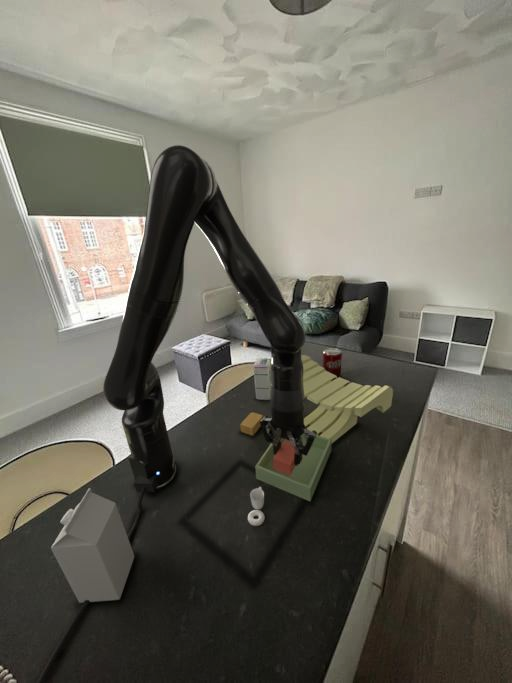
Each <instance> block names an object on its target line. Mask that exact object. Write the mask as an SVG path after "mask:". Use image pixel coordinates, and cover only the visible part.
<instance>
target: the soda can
mask: <svg viewBox="0 0 512 683" xmlns="http://www.w3.org/2000/svg"><path fill="white" fill-rule="evenodd" d="M342 357H343V352H342V350H341V349H339V348H335V347H328V348H325V349H324V350H323V352H322V367H323V368H325V371H327V372H329V373H332V374H334V375H336V376H337V378H338V377H340V378H342V359H343V358H342Z"/></svg>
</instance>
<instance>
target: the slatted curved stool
mask: <svg viewBox="0 0 512 683" xmlns="http://www.w3.org/2000/svg"><path fill="white" fill-rule="evenodd" d="M301 358H302V362H303V386H304V398H305V399H307V400H308V401H310V402H312V403H313V404H315V405H318V406H317V407H316V408H315V409H314V410H313V411H311V413H309V414H307V415H306V416H304V425H305V427H306V429H307V430H309V431H311V432H312V431H313V430H314V431H316V432H317V435H318V436H321V437H325V438H328V439H331V440H332V442H331V445H332V444H333V443H335V442H336V441H337V440H338V439H340V438H341V437H342V436H343V435H344V434H346V433H347V432H348V431H349V430H351V429H352V428H353V427H354V426H355V425H357V423H358V417H360V418H362V417H363V416H365V415H366V414H368V413H369V412H371V411H372V410H374V409H375V408H376V409H377V410H379V411H380V412H381V413H385V412H386V411H388V410H389V409H390V408H391V407H392V403H393V396H394V389H393V387H392V386H390V385H384V386H380V385H377V384H376V385H374V386H372V385H369V384H365V385H363V384H360V383H356V382H353V381H351V382H350V381H349V380H347V379H345V378H342V377H341V378H340V377H338V378H337V376H336V375H334V374H332V373H329V372H327V371H325V368H323V366H321V365H319V363H318V362H316V361H314V360H313V358H312V357H311V356H309V355H306V354H301Z"/></svg>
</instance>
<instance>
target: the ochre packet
mask: <svg viewBox="0 0 512 683" xmlns="http://www.w3.org/2000/svg"><path fill="white" fill-rule="evenodd" d="M263 418H264V414H259V413H257V412H253V411H251V412H250V413H249V414H248V415H247V416H246V417H245V419H244V420H243V421H242V422H241V423H240V425H239V429H240V432H241V433H243V434H246V435H249V436H254V435H255V434H256V433H257V432H258V431H259V429H260V428H261V425H260V421H261V420H262V419H263Z"/></svg>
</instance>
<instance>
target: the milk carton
mask: <svg viewBox="0 0 512 683" xmlns="http://www.w3.org/2000/svg"><path fill="white" fill-rule="evenodd" d="M59 523H60V524H61V525H63V527H62V529H61V530H60V532H59V534H58V536H57V537H56V538H55V540H54V542H53V543H52V545H51V547H50V550H51V551H52V554H53V555H54V557H55V560H56V561H57V563H58V565H59V567H60V569H61V571H62V573H63V575H64V577H65V578H66V581H67V582H68V584H69V586H70V588H71V590H72V592H73V594H74V596H75V598H76V600H77V601H78V603H79V604H83V603H84V601H85V600H89V601H90V602H89V603H95V602H96V603H97V602H107V601H108V602H109V601H119V600H121V597H122V594H123V592H124V589H125V586H126V583H127V579H128V577H129V574H130V571H131V569H132V565H133V562H134V559H135V554H134V551H133V548H132V546H131V542H130V540H128V537H127V536H128V534H127V532H126V528H125V525H124V523H123V521H122V517H121V514H120V511H119V509H118V505H117V503H116V502H114V501H112V500H110V499H108V498H105V497H103V496H101V495H99V494H96V493H94V492H92V489H91V488H90V487H89V488H88V489H87V490H86V492H85V493H84V495H83V497H82V498H81V500H80V502H79V503H78V504H77V505H76V506H75V507H74V509H73V508H69V509H68V510H67V511H66V512H65V513H64V514H63V517H62V518H61V520H60V522H59Z"/></svg>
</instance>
